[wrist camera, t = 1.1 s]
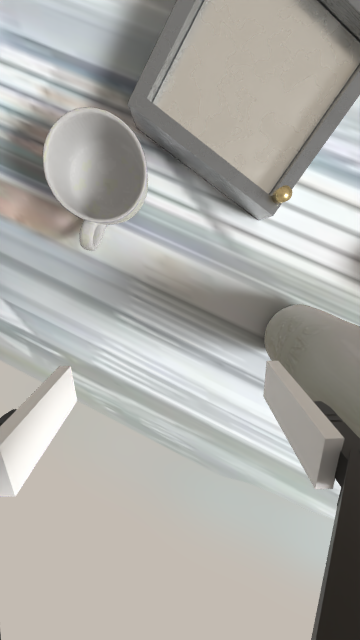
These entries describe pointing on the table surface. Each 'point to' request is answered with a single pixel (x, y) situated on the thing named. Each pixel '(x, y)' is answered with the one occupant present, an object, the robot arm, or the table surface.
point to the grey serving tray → (250, 91)
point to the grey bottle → (319, 357)
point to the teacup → (95, 170)
